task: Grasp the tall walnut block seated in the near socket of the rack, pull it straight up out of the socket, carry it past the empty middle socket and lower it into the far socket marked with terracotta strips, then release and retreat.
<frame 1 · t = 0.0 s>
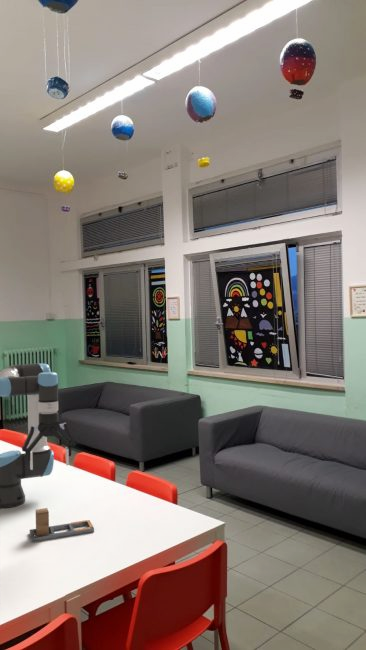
hand: (49, 466, 197), 28 cm above the table, fingers open, 13 cm apart
walnut block: (42, 536, 199), resting in rack
rack: (61, 532, 202), on the table
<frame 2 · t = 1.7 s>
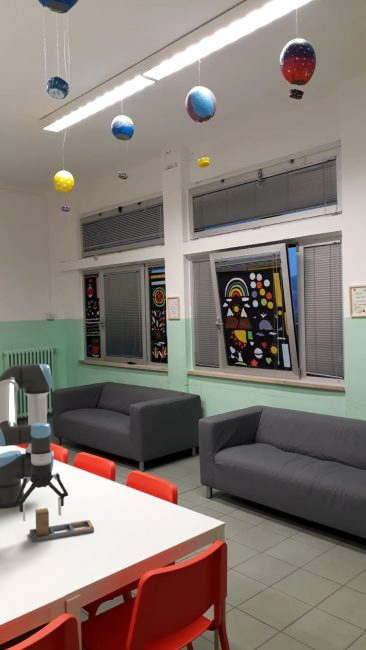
hand: (42, 517, 199), 7 cm above the table, fingers open, 13 cm apart
nothing on the table moved.
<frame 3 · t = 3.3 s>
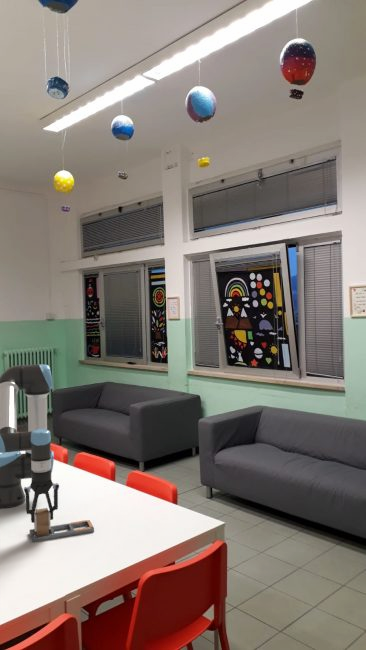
hand: (42, 529, 199), 3 cm above the table, fingers closed on walnut block, 4 cm apart
walnut block: (42, 535, 199), resting in rack, touching gripper
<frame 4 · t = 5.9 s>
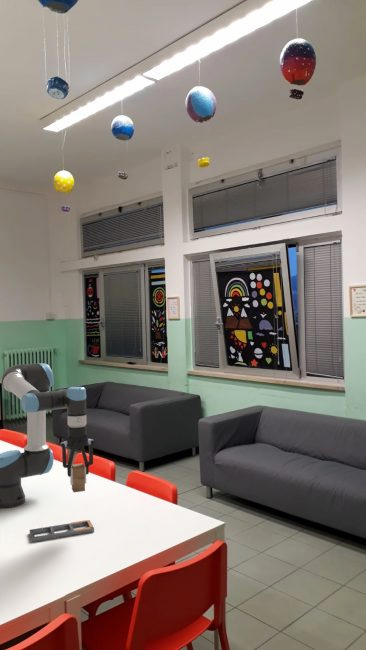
hand: (78, 483, 204), 19 cm above the table, fingers closed on walnut block, 4 cm apart
walnut block: (78, 490, 204), point 16 cm above the table, touching gripper
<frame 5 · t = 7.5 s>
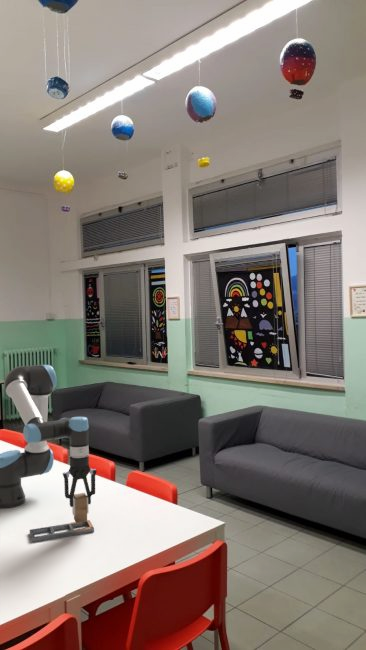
hand: (80, 513, 205), 7 cm above the table, fingers closed on walnut block, 4 cm apart
walnut block: (80, 520, 205), point 4 cm above the table, touching gripper
when the fingers open (3 cm above the table, at t = 8.8 s): walnut block stays where it is, resting in rack.
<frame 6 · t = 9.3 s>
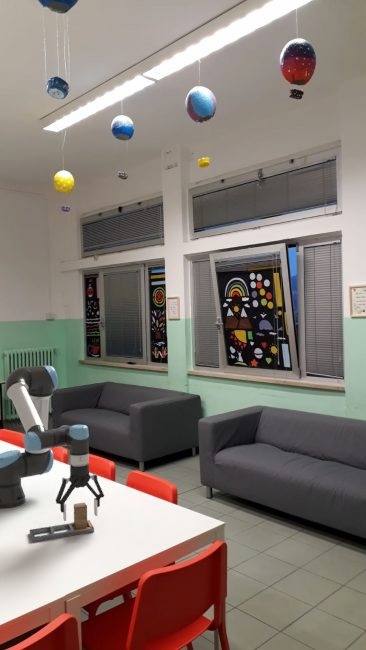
hand: (80, 517, 205), 5 cm above the table, fingers open, 12 cm apart
walnut block: (80, 529, 205), resting in rack
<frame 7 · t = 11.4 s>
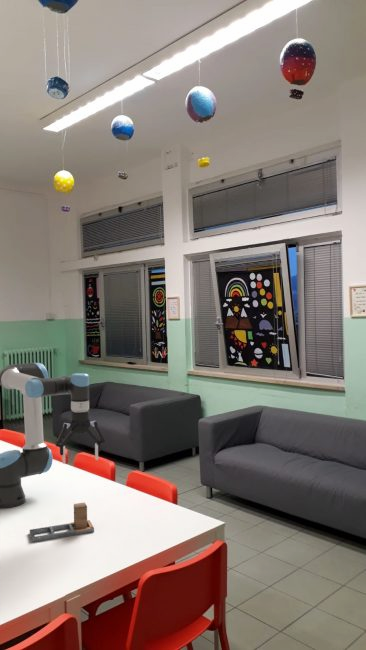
hand: (80, 461, 213), 26 cm above the table, fingers open, 13 cm apart
nothing on the table moved.
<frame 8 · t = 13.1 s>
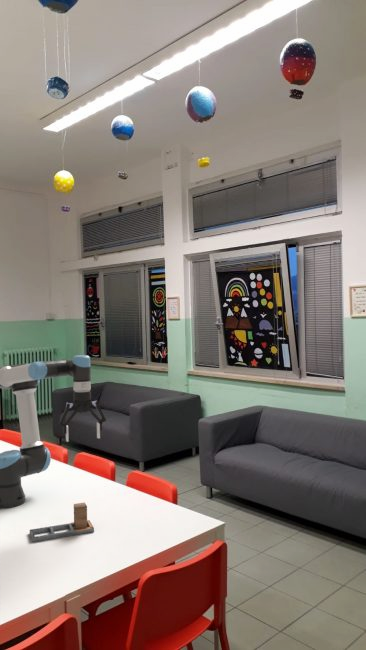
hand: (83, 439, 221), 33 cm above the table, fingers open, 13 cm apart
nothing on the table moved.
at the end: walnut block 0.0 cm from the target spot on the rack, point 0.0 cm above the rack's base; walnut block tilted 0°; the gripper is holding nothing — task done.
